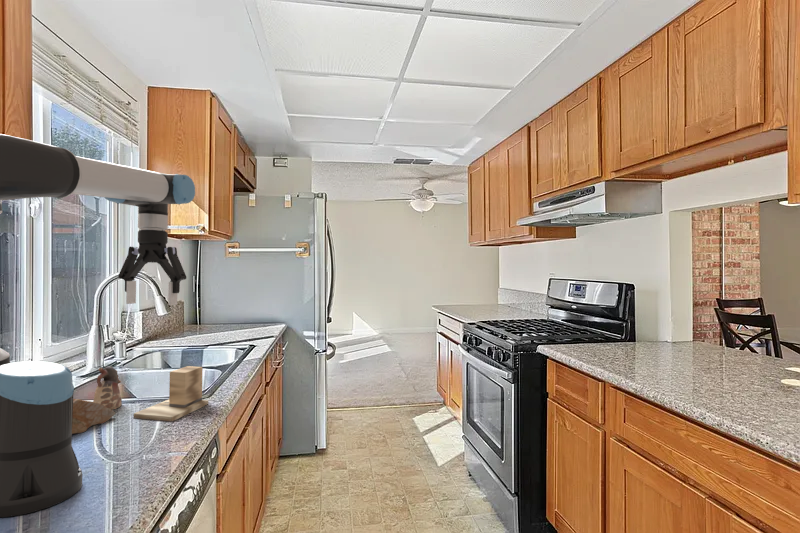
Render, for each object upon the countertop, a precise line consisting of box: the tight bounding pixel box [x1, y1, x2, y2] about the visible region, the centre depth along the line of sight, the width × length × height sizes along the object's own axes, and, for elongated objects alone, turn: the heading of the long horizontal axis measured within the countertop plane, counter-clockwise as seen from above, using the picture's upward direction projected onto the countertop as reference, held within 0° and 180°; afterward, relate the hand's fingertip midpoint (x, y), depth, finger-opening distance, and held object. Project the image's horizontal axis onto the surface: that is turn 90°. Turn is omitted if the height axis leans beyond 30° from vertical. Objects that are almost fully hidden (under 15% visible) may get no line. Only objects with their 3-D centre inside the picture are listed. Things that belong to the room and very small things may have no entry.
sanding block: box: [168, 365, 203, 408], centre depth 135 cm, size 8×5×10 cm, turn 169°
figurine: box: [92, 365, 123, 411], centre depth 134 cm, size 7×7×12 cm
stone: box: [72, 398, 116, 435], centre depth 118 cm, size 17×9×10 cm, turn 167°
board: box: [133, 398, 209, 422], centre depth 131 cm, size 16×12×1 cm
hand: (151, 304), depth 130 cm, fingers open, 13 cm apart
